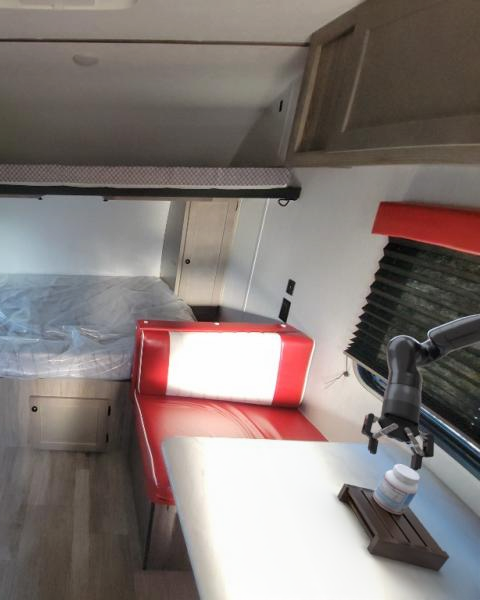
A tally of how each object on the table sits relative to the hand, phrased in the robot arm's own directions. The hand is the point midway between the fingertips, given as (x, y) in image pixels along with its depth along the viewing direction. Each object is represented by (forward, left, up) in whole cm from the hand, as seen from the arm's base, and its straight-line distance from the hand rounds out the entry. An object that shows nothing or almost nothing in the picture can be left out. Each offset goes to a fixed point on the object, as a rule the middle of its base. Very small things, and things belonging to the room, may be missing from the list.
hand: (393, 461), depth 88 cm
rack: (+4, +11, -13) cm, 17 cm away
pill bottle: (+3, +7, -8) cm, 11 cm away
